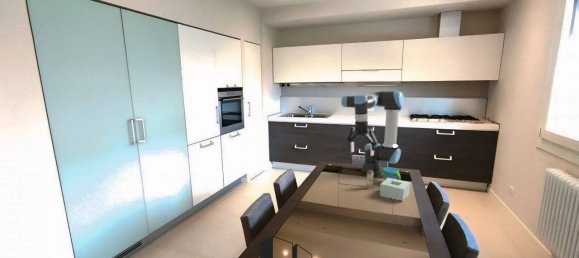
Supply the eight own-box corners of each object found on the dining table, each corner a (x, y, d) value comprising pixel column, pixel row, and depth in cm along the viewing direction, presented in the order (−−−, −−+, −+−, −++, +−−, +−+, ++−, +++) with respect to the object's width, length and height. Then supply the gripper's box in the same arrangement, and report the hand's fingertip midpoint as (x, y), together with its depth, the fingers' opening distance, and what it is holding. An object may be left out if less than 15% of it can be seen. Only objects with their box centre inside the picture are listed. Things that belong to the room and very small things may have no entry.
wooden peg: (367, 186, 179) (368, 169, 177) (373, 187, 177) (374, 171, 175) (365, 188, 176) (366, 171, 174) (371, 189, 173) (372, 172, 171)
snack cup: (404, 185, 180) (405, 171, 178) (392, 188, 176) (393, 173, 174) (387, 178, 194) (388, 165, 193) (376, 180, 190) (377, 167, 189)
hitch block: (387, 188, 175) (387, 177, 173) (409, 194, 166) (410, 182, 165) (379, 195, 164) (380, 183, 163) (402, 201, 155) (403, 189, 154)
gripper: (340, 120, 164) (341, 152, 168) (377, 123, 147) (378, 158, 151) (346, 118, 169) (348, 149, 174) (383, 120, 152) (383, 155, 156)
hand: (362, 153), depth 162 cm, fingers open, 13 cm apart
